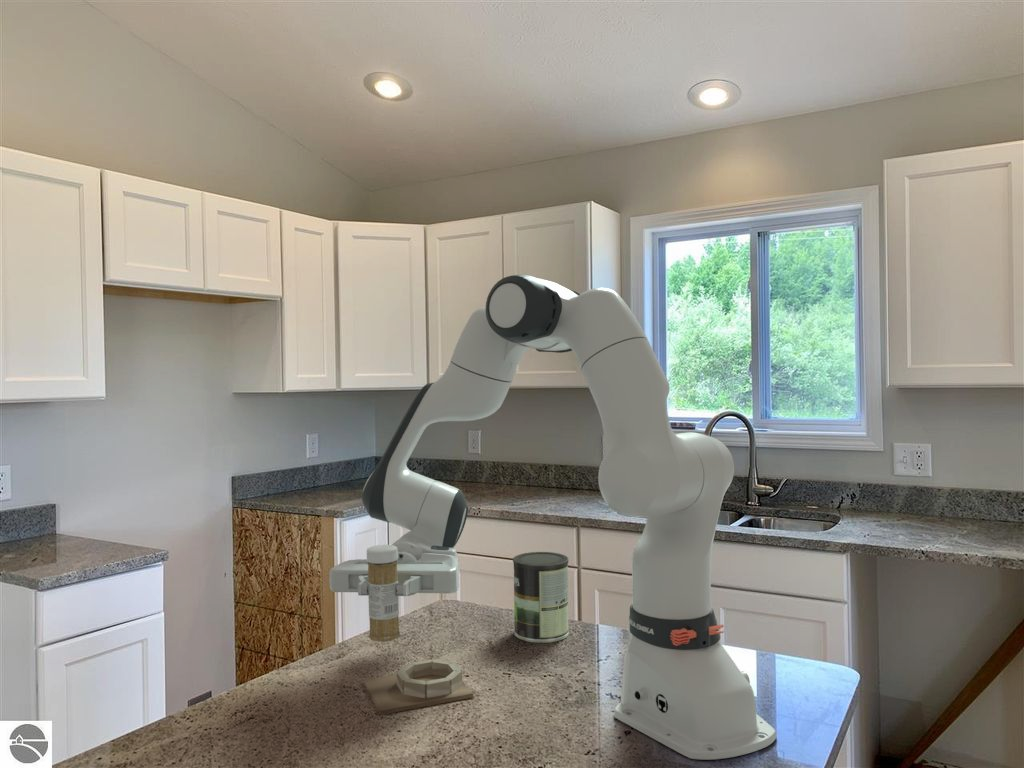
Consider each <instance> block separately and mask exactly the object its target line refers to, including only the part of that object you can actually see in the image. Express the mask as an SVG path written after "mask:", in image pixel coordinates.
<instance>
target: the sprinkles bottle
mask: <svg viewBox="0 0 1024 768" xmlns="http://www.w3.org/2000/svg"><path fill="white" fill-rule="evenodd" d="M366 559H367V561H368V562H367V563H368V579H369V581H368V594H369V595H368V617H369V633H368V635H369V636H368V638H369V639H370V640H371V641H374V642H381V643H385V642H391V641H393V640H396V639H398V638H399V637H400V628H399V625H400V623H399V614H400V611H399V606H400V605H399V602H400V601H399V596H397V594H396V592H397V589H396V586H397V584H398V579H397V562H398V561H397V559H398V548H397V547H396V546H394V545H392V544H377V545H371V546H369V547H368V548H367V549H366Z"/></svg>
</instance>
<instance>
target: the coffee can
mask: <svg viewBox="0 0 1024 768" xmlns="http://www.w3.org/2000/svg"><path fill="white" fill-rule="evenodd" d="M512 563H513V602H514V606H513V607H514V609H513V610H514V614H513V615H514V616H513V617H514V618H513V619H514V631H513V634H514V636H515V637H516V638H517V639H519V640H521V641H524V642H527V643H534V644H548V643H555V642H559V641H562V640H564V639H567V638H568V636H569V634H570V631H569V565H568V564H569V557H568V556H567V555H564V554H562V553H559V552H551V551H531V552H530V551H529V552H524V553H521V554H517V555H515V556H514V557H513V558H512Z"/></svg>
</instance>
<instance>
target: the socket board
mask: <svg viewBox="0 0 1024 768" xmlns="http://www.w3.org/2000/svg"><path fill="white" fill-rule="evenodd" d="M362 681H363V682H362V683H364V684H363V685H365V686H366V688H367V689H366V688H365V689H366V691H367V690H368V691H367V693H368V692H369V693H368V695H369V694H370V695H369V696H371V697H370V698H372V699H373V700H372V699H371V700H372V702H373V701H374V702H373V704H374V703H375V704H374V706H375V705H376V706H375V708H376V707H377V708H376V710H377V709H378V710H377V711H378V713H379V715H380V716H382V715H386V714H387V715H388V714H393V713H397V712H399V713H400V712H402V711H403V712H404V711H409V710H414V709H419V708H425V707H429V706H437V705H440V704H445V703H450V702H456V701H461V700H467V699H472V698H474V693H473V691H472V690H471V689H470V688H469V687H468V686H467V684H466V683H465V682H464V681H463V670H462V668H461V667H459V665H458V664H456V662H454V661H449V660H442V659H436V658H434V659H432V658H429V659H424V660H418V661H412V662H409V663H407V664H406V665H404V666H403V667H401V668H399V669H398V670H397V671H396V674H391V675H384V676H378V677H371V678H367V679H363V680H362ZM365 686H364V687H365Z"/></svg>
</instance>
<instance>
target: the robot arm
mask: <svg viewBox="0 0 1024 768" xmlns="http://www.w3.org/2000/svg"><path fill="white" fill-rule="evenodd" d="M531 350H536V351H537V352H540V353H541V352H542V353H545V352H546V353H558V354H559V353H561V354H562V353H568V352H572V353H573V354H574V356H575V360H576V361H577V364H578V366H579V369H580V371H581V373H582V375H583V378H584V380H585V382H586V384H587V387H588V389H589V391H590V393H591V396H592V398H593V401H594V403H595V407H596V409H597V410H598V414H599V416H600V420H601V425H602V430H603V438H604V454H603V457H602V460H601V463H600V465H599V469H598V477H597V479H598V489H599V491H600V494H601V496H602V498H603V501H604V502H605V504H606V505H607V506H608V507H609V508H610V509H611V510H613V511H614V512H615V513H617V514H619V515H621V516H624V517H625V516H626V517H632V518H638V519H639V518H640V519H641V518H642V519H646V521H645V526H644V528H643V531H642V534H641V536H640V538H639V539H638V541H636V544H635V546H634V547H633V551H632V556H631V583H632V584H631V587H632V589H631V592H632V593H631V596H632V603H631V604H630V606H629V613H628V623H629V632H630V634H631V638H630V642H629V645H628V648H627V650H626V652H625V654H624V657H623V664H622V665H623V666H622V677H621V678H622V679H621V692H620V693H621V694H620V702H619V703H618V704H617V705H615V707H614V712H613V713H614V714H613V716H614V718H615V719H617V720H619V721H620V722H622V723H623V724H626V725H627V726H629V727H631V728H633V729H635V730H637V731H638V732H641V733H642V734H644V735H646V736H648V737H649V738H651V739H652V740H655V741H656V742H659V743H660V744H662V745H664V746H666V747H668V748H669V749H672V750H673V751H675V752H677V753H679V754H681V755H682V756H684V757H687V758H689V759H692V760H702V761H703V760H707V761H708V760H711V761H712V760H721V759H729V758H735V757H738V756H739V757H740V756H743V755H747V754H750V753H754V752H757V751H759V750H762V749H764V748H766V747H769V746H770V745H771V744H773V743H774V741H776V739H777V731H776V729H775V728H774V727H773V726H772V725H770V724H769V723H768V721H766V720H765V719H763V718H762V717H761V716H760V715H758V713H757V707H756V699H755V697H756V696H755V693H754V690H753V688H752V685H751V681H750V677H749V675H748V672H746V671H741V669H739V667H738V665H736V663H735V661H734V660H733V659H732V657H731V656H730V654H729V653H728V651H727V650H726V649H725V647H724V646H723V644H722V642H721V641H720V640H721V634H723V633H724V632H725V631H723V630H720V629H723V628H724V627H725V625H724V624H718V621H717V620H718V619H717V618H716V615H715V611H714V608H712V592H711V591H712V575H711V574H712V552H713V545H714V539H715V535H716V530H717V525H718V520H719V516H720V512H721V508H722V504H723V500H724V496H725V494H726V493H727V491H728V488H729V487H730V485H731V484H732V481H733V478H734V476H735V462H734V458H733V455H732V453H731V451H730V450H729V448H728V447H727V446H726V445H725V444H724V443H723V441H720V440H719V439H717V438H715V437H714V436H710V435H708V434H704V433H703V434H702V433H699V432H690V431H688V432H687V431H686V432H680V433H675V432H674V431H673V429H672V425H671V423H670V419H669V415H668V407H667V399H668V397H669V394H670V382H669V381H668V377H667V376H666V374H665V372H664V370H663V368H662V366H661V363H660V362H659V360H658V357H657V356H656V353H655V352H654V349H653V347H652V346H651V343H650V341H649V339H648V337H647V335H646V333H645V331H644V329H643V328H642V325H641V324H640V322H639V321H638V319H637V317H636V316H635V314H634V313H633V312H632V310H631V308H630V307H629V306H628V304H627V303H626V302H625V300H624V299H623V298H622V297H621V296H620V294H619V293H618V292H617V291H615V290H614V289H611V288H608V287H596V288H591V289H588V290H585V291H584V292H581V293H580V292H577V291H574V290H571V289H568V288H566V287H565V286H562V285H560V284H559V283H557V282H555V281H550V280H546V279H543V278H539V277H535V276H532V275H528V274H512V275H509V276H508V275H507V276H506V277H502V278H501V279H500V280H498V281H497V282H496V283H495V284H494V285H493V286H492V288H491V289H490V291H489V292H488V294H487V297H486V302H485V306H483V307H482V306H481V307H480V308H477V309H475V310H474V312H472V314H471V315H470V316H469V319H468V320H467V322H466V324H465V326H464V328H463V329H462V332H461V333H460V335H459V338H458V340H457V343H456V344H455V347H454V350H453V353H452V356H451V359H450V361H449V364H448V366H447V368H446V369H445V372H444V373H443V374H442V375H441V376H440V378H438V379H437V380H436V381H435V382H430V383H426V384H425V385H424V386H422V388H421V389H420V390H419V391H418V393H417V394H416V395H415V397H414V398H413V400H412V401H411V403H410V405H409V407H408V409H407V411H406V412H405V414H404V416H403V417H402V419H401V421H400V423H399V425H398V427H397V428H396V431H395V432H394V434H393V436H392V438H391V440H390V442H389V444H388V445H387V448H386V449H385V451H384V453H383V455H382V457H381V459H380V460H379V461H378V463H377V465H376V467H375V468H374V470H373V471H372V473H371V474H370V475H369V477H368V478H367V480H366V482H365V484H364V487H363V488H362V494H361V502H362V503H363V507H364V509H365V510H366V512H367V514H368V515H369V516H370V518H371V519H376V520H378V521H381V522H385V523H391V524H394V525H396V526H399V527H401V528H404V529H406V530H409V531H408V532H406V533H405V534H403V535H402V536H401V537H399V539H397V540H396V541H394V542H392V543H391V545H394V546H396V547H397V548H398V559H397V561H398V562H397V579H398V584H397V586H396V589H397V592H396V594H397V596H398V597H410V596H414V595H416V594H445V595H446V594H455V593H457V592H458V591H459V587H460V571H459V567H460V566H459V559H458V553H457V549H456V548H455V546H456V545H457V543H458V541H459V539H460V538H461V535H462V533H463V531H464V528H465V525H466V521H467V518H468V512H469V511H468V508H469V507H468V503H467V500H466V497H465V494H464V493H463V491H462V489H459V488H457V487H455V486H452V485H451V484H450V485H449V484H447V483H445V482H443V481H440V480H437V479H436V480H435V479H433V478H430V477H428V476H425V475H422V474H421V473H417V472H414V471H413V470H410V469H409V467H408V466H407V465H408V461H409V459H410V457H411V455H412V453H413V452H414V450H415V448H416V446H417V444H418V442H419V440H420V438H421V437H422V435H423V433H424V431H425V430H426V429H427V428H428V427H429V426H430V425H432V424H435V423H441V422H470V421H477V420H481V419H485V418H487V417H490V416H492V415H493V414H495V413H496V412H497V411H498V410H499V409H500V408H501V406H503V403H504V401H505V399H506V397H507V395H508V392H509V390H510V387H511V384H512V381H513V378H514V376H515V373H516V370H517V366H518V364H519V361H520V360H521V358H522V356H523V355H524V354H525V353H527V352H528V351H531ZM367 562H368V561H367V558H366V559H362V558H361V559H359V558H358V559H350V560H346V561H342V562H340V563H338V564H337V565H335V566H333V567H331V568H330V570H329V575H328V576H329V578H328V580H329V581H328V582H329V588H330V591H331V592H334V593H357V594H358V596H360V597H361V596H365V597H367V596H368V597H369V594H368V581H369V579H368V563H367Z"/></svg>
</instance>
